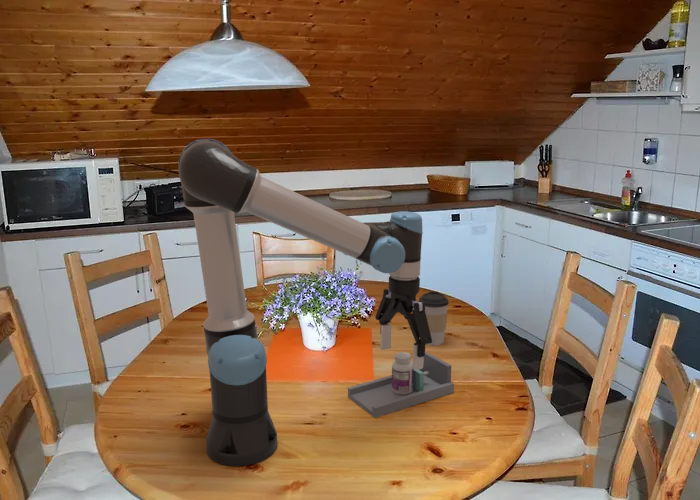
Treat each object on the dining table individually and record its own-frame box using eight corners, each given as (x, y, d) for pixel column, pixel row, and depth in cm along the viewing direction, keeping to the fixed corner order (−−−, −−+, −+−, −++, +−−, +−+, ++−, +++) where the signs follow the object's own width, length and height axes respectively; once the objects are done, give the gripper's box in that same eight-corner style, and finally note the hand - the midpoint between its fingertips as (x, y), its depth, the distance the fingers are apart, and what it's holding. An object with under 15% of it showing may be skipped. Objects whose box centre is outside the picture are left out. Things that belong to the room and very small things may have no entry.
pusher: (419, 392, 153) (420, 373, 152) (403, 381, 159) (403, 363, 158) (435, 387, 156) (436, 369, 155) (418, 376, 162) (419, 359, 161)
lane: (375, 417, 144) (375, 390, 142) (347, 396, 154) (347, 371, 152) (453, 392, 156) (454, 367, 154) (423, 374, 166) (423, 350, 165)
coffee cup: (447, 347, 184) (448, 300, 180) (417, 345, 185) (417, 298, 182) (447, 336, 193) (448, 290, 189) (418, 334, 194) (419, 289, 190)
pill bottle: (399, 383, 159) (400, 349, 156) (417, 389, 155) (417, 354, 153) (387, 391, 155) (387, 355, 152) (405, 397, 151) (405, 361, 149)
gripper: (450, 287, 139) (445, 373, 144) (387, 262, 160) (385, 338, 165) (424, 292, 136) (419, 380, 140) (363, 266, 156) (361, 344, 161)
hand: (401, 358), depth 153 cm, fingers open, 13 cm apart
